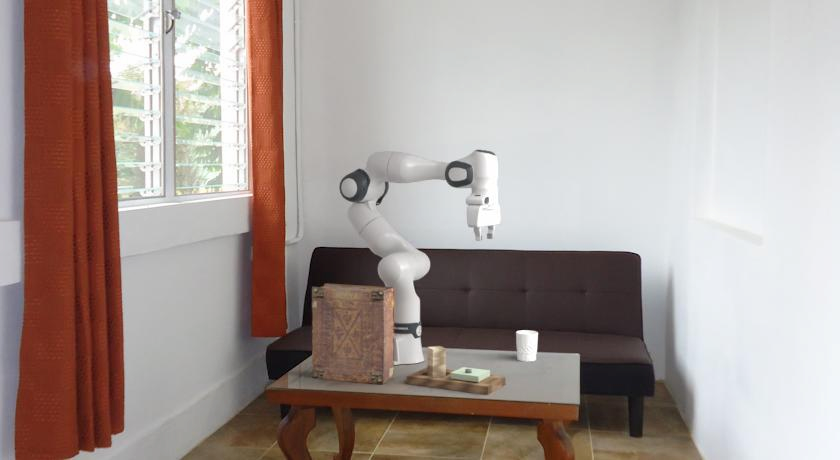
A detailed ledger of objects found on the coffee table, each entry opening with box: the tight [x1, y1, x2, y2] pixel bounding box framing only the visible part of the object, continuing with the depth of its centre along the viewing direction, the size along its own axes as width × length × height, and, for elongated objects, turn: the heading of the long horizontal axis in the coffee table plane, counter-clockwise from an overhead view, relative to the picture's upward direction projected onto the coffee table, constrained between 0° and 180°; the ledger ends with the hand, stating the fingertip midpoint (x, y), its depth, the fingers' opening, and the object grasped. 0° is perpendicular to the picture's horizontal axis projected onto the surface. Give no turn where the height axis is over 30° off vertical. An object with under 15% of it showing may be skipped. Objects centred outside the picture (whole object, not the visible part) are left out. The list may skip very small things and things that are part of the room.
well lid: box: [451, 366, 491, 382], centre depth 269 cm, size 10×9×3 cm
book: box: [311, 283, 395, 385], centre depth 278 cm, size 25×9×30 cm, turn 70°
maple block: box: [426, 345, 447, 378], centre depth 274 cm, size 4×4×11 cm
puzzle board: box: [406, 367, 507, 396], centre depth 272 cm, size 28×14×2 cm, turn 62°
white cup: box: [515, 329, 539, 363], centre depth 307 cm, size 8×8×10 cm
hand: (484, 239), depth 287 cm, fingers open, 8 cm apart
